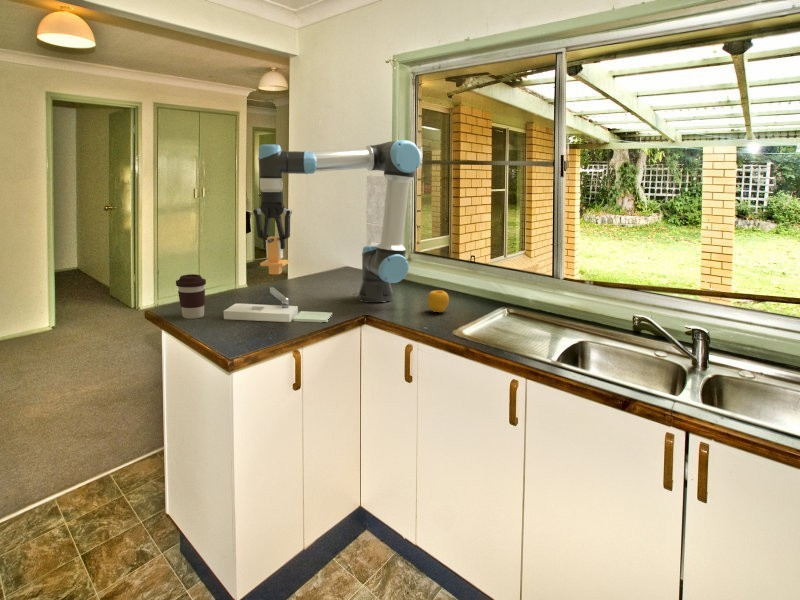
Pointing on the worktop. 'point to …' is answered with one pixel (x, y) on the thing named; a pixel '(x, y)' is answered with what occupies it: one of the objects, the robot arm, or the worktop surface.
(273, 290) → the grey metal rod
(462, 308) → the worktop surface
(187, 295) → the coffee cup
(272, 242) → the plug
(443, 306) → the apple
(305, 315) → the pad
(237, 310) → the socket block
